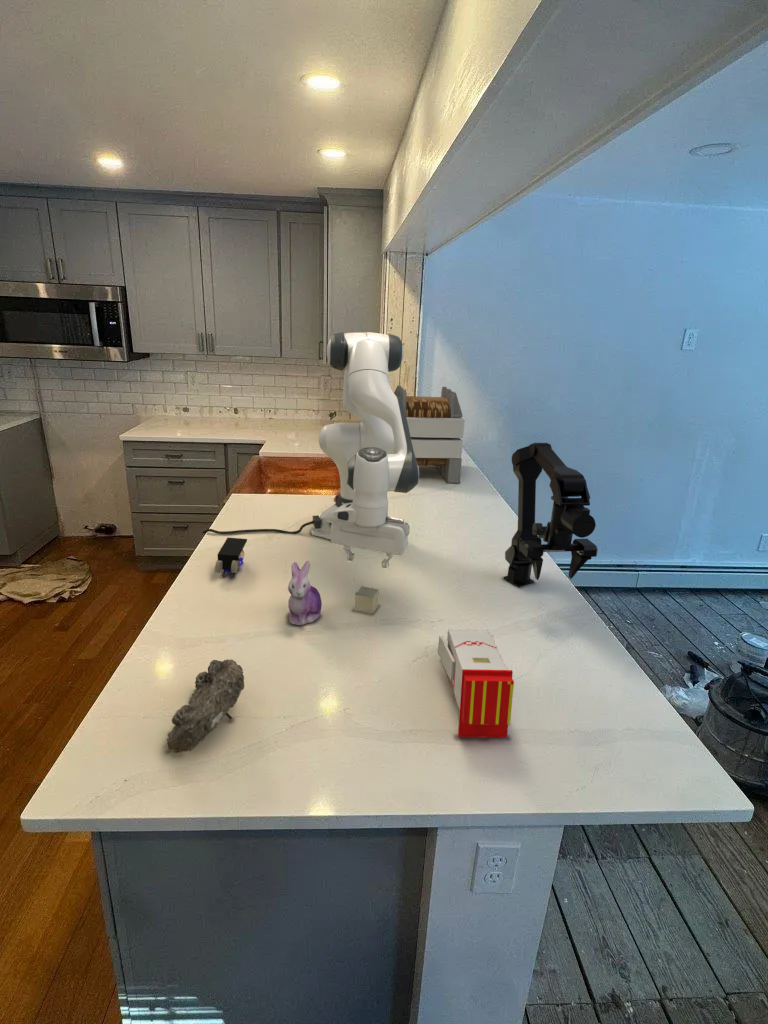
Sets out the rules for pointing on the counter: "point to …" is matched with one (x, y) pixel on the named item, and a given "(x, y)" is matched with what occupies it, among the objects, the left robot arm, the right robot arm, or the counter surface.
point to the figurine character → (230, 556)
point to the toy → (478, 682)
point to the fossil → (206, 705)
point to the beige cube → (366, 600)
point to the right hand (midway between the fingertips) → (553, 578)
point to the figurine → (303, 597)
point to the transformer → (435, 431)
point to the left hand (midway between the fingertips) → (368, 563)
